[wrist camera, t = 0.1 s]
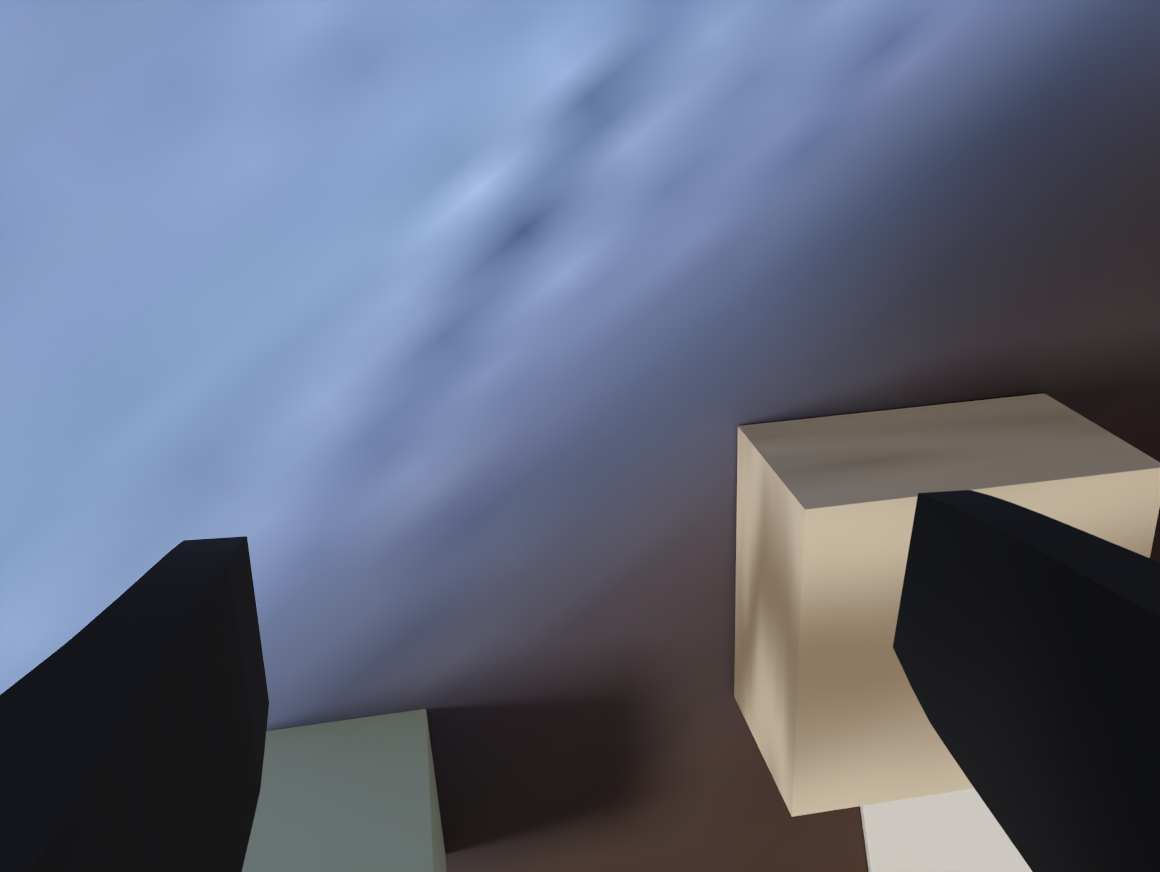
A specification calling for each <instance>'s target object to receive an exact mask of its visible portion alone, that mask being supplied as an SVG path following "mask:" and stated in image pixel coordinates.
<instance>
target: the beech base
mask: <svg viewBox="0 0 1160 872" xmlns="http://www.w3.org/2000/svg"><path fill="white" fill-rule="evenodd" d="M959 490H972V491H976V492H980V493H983V494H987V495H990V496H993V497H997V498H1000V499H1003V500H1005V501H1008V502H1011V503H1014V504H1017V505H1019V506H1022V507H1025V508H1027V509H1030V510H1032V511H1035V512H1038V513H1040V514H1043V515H1045V516H1048V517H1050V518H1053V519H1055V520H1058V521H1060V522H1063V523H1065V524H1067V525H1070V526H1072V527H1075V528H1077V529H1080V530H1082V531H1085V532H1087V533H1089V534H1092V535H1094V536H1097V537H1099V538H1102V539H1104V540H1106V541H1109V542H1111V543H1114V544H1116V545H1119V546H1121V547H1124V548H1126V549H1128V550H1131V551H1133V552H1136V553H1138V554H1141V555H1143V556H1146V557H1148V558H1150V554H1151V549H1152V544H1153V539H1154V534H1155V528H1156V523H1157V518H1158V513H1159V508H1160V462H1158V461H1157V460H1155V459H1153V458H1152V457H1150V456H1148V455H1147V454H1145V453H1143V452H1142V451H1140V450H1138V449H1137V448H1135V447H1133V446H1132V445H1130V444H1128V443H1127V442H1125V441H1123V440H1122V439H1120V438H1118V437H1117V436H1115V435H1113V434H1112V433H1110V432H1108V431H1107V430H1105V429H1103V428H1102V427H1100V426H1098V425H1097V424H1095V423H1093V422H1092V421H1090V420H1088V419H1087V418H1085V417H1083V416H1082V415H1080V414H1078V413H1077V412H1075V411H1073V410H1072V409H1070V408H1068V407H1067V406H1065V405H1063V404H1062V403H1060V402H1058V401H1057V400H1055V399H1053V398H1052V397H1050V396H1048V395H1046V394H1045V393H1043V394H1034V395H1024V396H1015V397H1005V398H996V399H987V400H977V401H968V402H958V403H949V404H940V405H930V406H921V407H911V408H902V409H893V410H883V411H874V412H864V413H855V414H846V415H836V416H827V417H818V418H808V419H799V420H789V421H780V422H771V423H761V424H752V425H742V426H738V455H737V531H736V608H735V684H734V697H735V699H736V701H737V703H738V705H739V707H740V709H741V711H742V714H743V716H744V718H745V720H746V722H747V724H748V726H749V728H750V730H751V732H752V734H753V737H754V739H755V741H756V743H757V745H758V747H759V749H760V751H761V753H762V755H763V757H764V759H765V762H766V764H767V766H768V768H769V770H770V772H771V774H772V776H773V778H774V780H775V782H776V784H777V787H778V789H779V791H780V793H781V795H782V797H783V799H784V801H785V803H786V805H787V807H788V810H789V812H790V814H791V816H792V817H793V816H799V815H806V814H812V813H818V812H825V811H831V810H838V809H844V808H850V807H857V806H863V805H869V804H876V803H882V802H889V801H895V800H901V799H908V798H914V797H921V796H927V795H933V794H940V793H946V792H952V791H959V790H965V789H972V788H974V787H973V786H972V784H971V783H970V781H969V780H968V778H967V777H966V776H965V774H964V773H963V771H962V770H961V768H960V767H959V765H958V764H957V762H956V761H955V759H954V758H953V756H952V755H951V754H950V752H949V751H948V749H947V748H946V746H945V745H944V743H943V742H942V740H941V739H940V737H939V736H938V734H937V733H936V731H935V730H934V728H933V727H932V725H931V724H930V722H929V720H928V718H927V716H926V714H925V712H924V710H923V709H922V707H921V705H920V703H919V701H918V699H917V697H916V695H915V693H914V691H913V689H912V687H911V685H910V683H909V681H908V679H907V677H906V674H905V672H904V670H903V668H902V666H901V664H900V662H899V660H898V657H897V655H896V653H895V651H894V649H893V642H894V636H895V630H896V624H897V618H898V612H899V606H900V600H901V594H902V587H903V581H904V575H905V569H906V563H907V557H908V551H909V545H910V539H911V533H912V527H913V521H914V515H915V509H916V503H917V497H918V493H928V492H944V491H959Z"/></svg>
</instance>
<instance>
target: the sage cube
mask: <svg viewBox="0 0 1160 872" xmlns="http://www.w3.org/2000/svg"><path fill="white" fill-rule="evenodd" d="M242 872H446V857H445V848H444V841H443V833H442V826H441V818H440V811H439V803H438V795H437V788H436V780H435V773H434V765H433V758H432V750H431V743H430V735H429V728H428V720H427V713H426V709H421V710H414V711H407V712H399V713H392V714H385V715H378V716H371V717H364V718H357V719H349V720H342V721H335V722H328V723H321V724H314V725H306V726H299V727H292V728H285V729H278V730H271V731H266V740H265V751H264V760H263V770H262V779H261V788H260V794H259V798H258V803H257V807H256V812H255V816H254V821H253V825H252V829H251V834H250V838H249V842H248V847H247V851H246V855H245V860H244V864H243V868H242Z"/></svg>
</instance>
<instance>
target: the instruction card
mask: <svg viewBox="0 0 1160 872" xmlns="http://www.w3.org/2000/svg"><path fill="white" fill-rule="evenodd" d="M860 809H861V817H862V824H863V832H864V839H865V847H866V854H867V861H868V869H869V872H1032V870H1031V869H1030V867H1029V866H1028V865H1027V863H1026V862H1025V860H1024V859H1023V857H1022V856H1021V854H1020V853H1019V852H1018V850H1017V849H1016V847H1015V846H1014V844H1013V843H1012V842H1011V840H1010V839H1009V837H1008V836H1007V834H1006V833H1005V832H1004V830H1003V829H1002V827H1001V826H1000V824H999V823H998V822H997V820H996V819H995V817H994V816H993V814H992V813H991V811H990V810H989V809H988V807H987V806H986V804H985V803H984V801H983V800H982V799H981V797H980V796H979V794H978V793H977V791H976V790H975V789H974V788H972V789H965V790H959V791H952V792H946V793H940V794H933V795H927V796H921V797H914V798H908V799H901V800H895V801H889V802H882V803H876V804H869V805H863V806H860Z"/></svg>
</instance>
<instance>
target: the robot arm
mask: <svg viewBox="0 0 1160 872" xmlns="http://www.w3.org/2000/svg"><path fill="white" fill-rule="evenodd" d="M893 649H894V651H895V653H896V655H897V657H898V660H899V662H900V664H901V666H902V668H903V670H904V672H905V674H906V677H907V679H908V681H909V683H910V685H911V687H912V689H913V691H914V693H915V695H916V697H917V699H918V701H919V703H920V705H921V707H922V709H923V710H924V712H925V714H926V716H927V718H928V720H929V722H930V724H931V725H932V727H933V728H934V730H935V731H936V733H937V734H938V736H939V737H940V739H941V740H942V742H943V743H944V745H945V746H946V748H947V749H948V751H949V752H950V754H951V755H952V756H953V758H954V759H955V761H956V762H957V764H958V765H959V767H960V768H961V770H962V771H963V773H964V774H965V776H966V777H967V778H968V780H969V781H970V783H971V784H972V786H973V787H974V789H975V790H976V791H977V793H978V794H979V796H980V797H981V799H982V800H983V801H984V803H985V804H986V806H987V807H988V809H989V810H990V811H991V813H992V814H993V816H994V817H995V819H996V820H997V822H998V823H999V824H1000V826H1001V827H1002V829H1003V830H1004V832H1005V833H1006V834H1007V836H1008V837H1009V839H1010V840H1011V842H1012V843H1013V844H1014V846H1015V847H1016V849H1017V850H1018V852H1019V853H1020V854H1021V856H1022V857H1023V859H1024V860H1025V862H1026V863H1027V865H1028V866H1029V867H1030V869H1031V870H1032V872H1160V562H1158V561H1156V560H1153V559H1151V558H1148V557H1146V556H1143V555H1141V554H1138V553H1136V552H1133V551H1131V550H1128V549H1126V548H1124V547H1121V546H1119V545H1116V544H1114V543H1111V542H1109V541H1106V540H1104V539H1102V538H1099V537H1097V536H1094V535H1092V534H1089V533H1087V532H1085V531H1082V530H1080V529H1077V528H1075V527H1072V526H1070V525H1067V524H1065V523H1063V522H1060V521H1058V520H1055V519H1053V518H1050V517H1048V516H1045V515H1043V514H1040V513H1038V512H1035V511H1032V510H1030V509H1027V508H1025V507H1022V506H1019V505H1017V504H1014V503H1011V502H1008V501H1005V500H1003V499H1000V498H997V497H993V496H990V495H987V494H983V493H980V492H976V491H972V490H959V491H944V492H928V493H918V497H917V503H916V509H915V515H914V521H913V527H912V533H911V539H910V545H909V551H908V557H907V563H906V569H905V575H904V581H903V587H902V594H901V600H900V606H899V612H898V618H897V624H896V630H895V636H894V642H893ZM268 707H269V700H268V692H267V685H266V677H265V670H264V662H263V655H262V647H261V640H260V632H259V625H258V617H257V610H256V602H255V595H254V587H253V580H252V572H251V565H250V557H249V550H248V542H247V537H231V538H216V539H201V540H185V541H183V542H181V543H180V544H179V545H177V546H176V547H175V548H174V549H172V550H171V551H170V552H169V553H168V554H167V555H165V556H164V557H163V558H162V559H161V560H160V561H159V562H158V563H156V564H155V565H154V566H153V567H152V568H151V569H150V570H149V571H148V572H146V573H145V574H144V575H143V576H142V577H141V578H140V579H139V580H138V581H137V582H135V583H134V584H133V585H132V586H131V587H130V588H129V589H128V590H127V591H125V592H124V593H123V594H122V595H121V596H120V597H119V598H118V599H117V600H115V601H114V602H113V603H112V604H111V605H110V606H108V607H107V608H106V609H105V610H104V611H103V612H102V613H100V614H99V615H98V616H97V617H96V618H95V619H94V620H92V621H91V622H90V623H89V624H88V625H87V626H86V627H84V628H83V629H82V630H81V631H80V632H79V633H78V634H76V635H75V636H74V637H73V638H72V639H71V640H69V641H68V642H67V643H66V644H65V645H64V646H62V647H61V648H60V649H58V650H57V651H56V652H55V653H53V654H52V655H51V656H50V657H48V658H47V659H46V660H44V661H43V662H42V663H41V664H39V665H38V666H37V667H36V668H34V669H33V670H32V671H30V672H29V673H28V674H27V675H25V676H24V677H23V678H22V679H20V680H19V681H18V682H16V683H15V684H14V685H13V686H11V687H10V688H9V689H8V690H6V691H5V692H4V693H2V694H1V695H0V872H242V868H243V864H244V860H245V855H246V851H247V847H248V842H249V838H250V834H251V829H252V825H253V821H254V816H255V812H256V807H257V803H258V798H259V794H260V788H261V779H262V770H263V760H264V751H265V740H266V729H267V718H268Z"/></svg>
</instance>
